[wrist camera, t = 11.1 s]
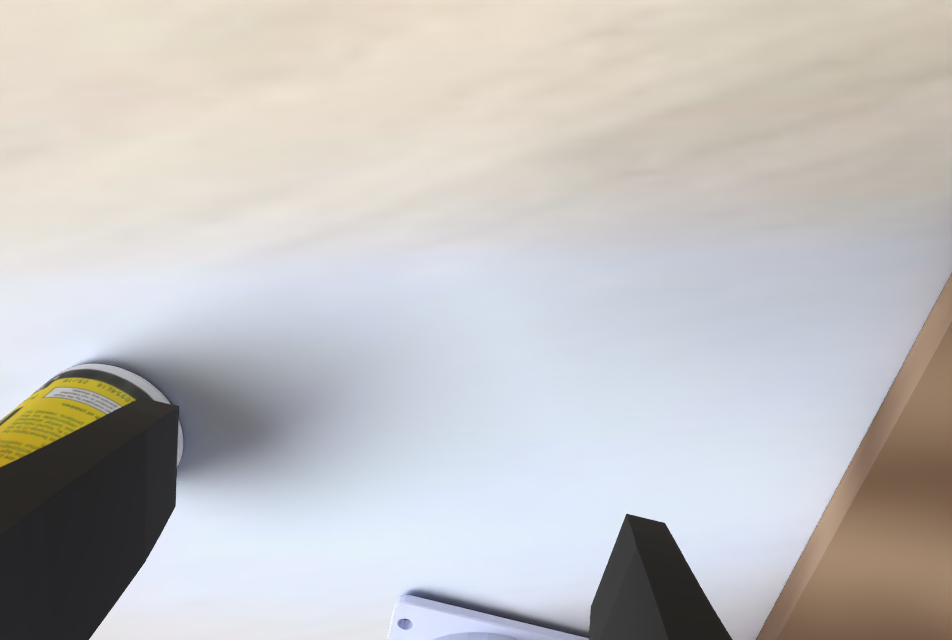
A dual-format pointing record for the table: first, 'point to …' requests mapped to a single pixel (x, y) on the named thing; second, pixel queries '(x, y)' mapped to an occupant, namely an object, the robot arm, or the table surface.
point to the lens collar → (886, 517)
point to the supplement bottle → (72, 407)
